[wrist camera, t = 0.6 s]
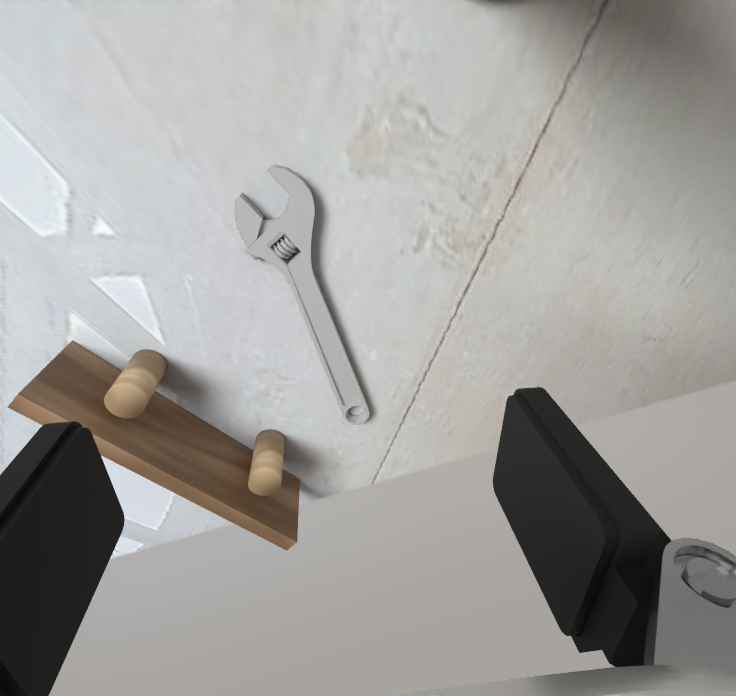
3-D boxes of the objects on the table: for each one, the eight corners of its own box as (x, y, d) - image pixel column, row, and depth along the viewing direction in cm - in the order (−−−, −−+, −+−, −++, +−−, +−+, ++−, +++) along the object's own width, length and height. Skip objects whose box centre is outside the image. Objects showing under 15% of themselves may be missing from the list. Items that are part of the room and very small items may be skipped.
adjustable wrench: (371, 411, 46) (373, 422, 44) (312, 425, 46) (312, 436, 44) (303, 160, 33) (303, 163, 32) (222, 180, 33) (217, 184, 32)
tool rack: (95, 311, 37) (44, 360, 30) (322, 460, 48) (323, 521, 41) (63, 351, 38) (7, 407, 31) (290, 487, 49) (286, 550, 42)
